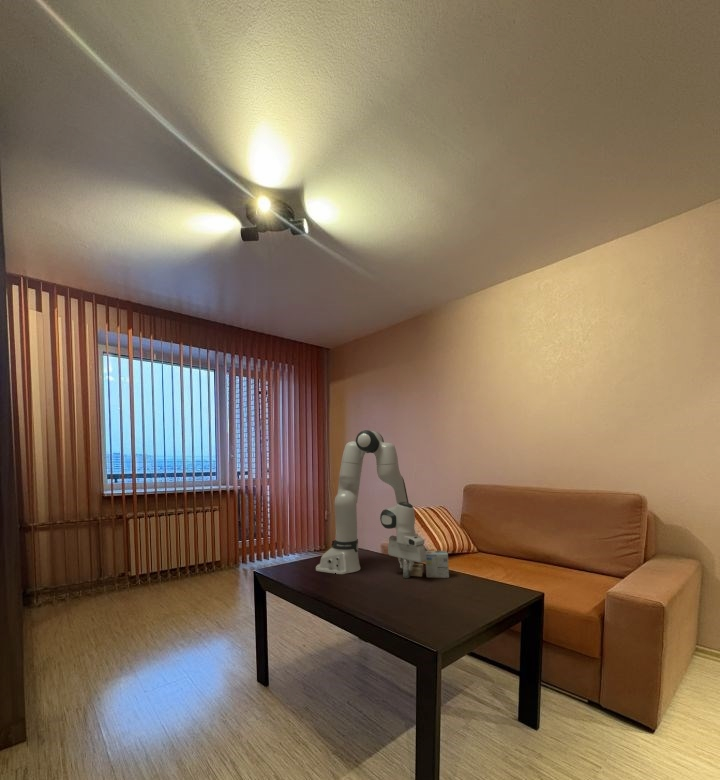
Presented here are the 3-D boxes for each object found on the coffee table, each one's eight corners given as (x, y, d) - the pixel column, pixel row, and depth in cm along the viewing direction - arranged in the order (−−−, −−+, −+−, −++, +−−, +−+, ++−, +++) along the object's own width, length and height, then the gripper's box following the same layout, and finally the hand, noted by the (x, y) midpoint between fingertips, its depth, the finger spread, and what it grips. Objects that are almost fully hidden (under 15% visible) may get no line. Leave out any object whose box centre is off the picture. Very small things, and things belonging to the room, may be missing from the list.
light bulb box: (447, 573, 194) (447, 550, 195) (449, 578, 187) (448, 554, 189) (425, 573, 195) (424, 550, 196) (426, 577, 188) (425, 553, 190)
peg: (402, 577, 187) (402, 557, 189) (403, 575, 190) (403, 555, 191) (409, 578, 187) (408, 557, 188) (410, 576, 189) (409, 556, 191)
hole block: (404, 575, 192) (404, 567, 192) (406, 570, 199) (406, 563, 200) (421, 576, 190) (421, 568, 190) (423, 571, 197) (423, 564, 198)
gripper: (384, 535, 196) (385, 565, 194) (419, 542, 182) (419, 575, 180) (393, 533, 200) (393, 563, 198) (427, 540, 186) (428, 572, 184)
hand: (406, 568), depth 189 cm, fingers closed on peg, 3 cm apart
